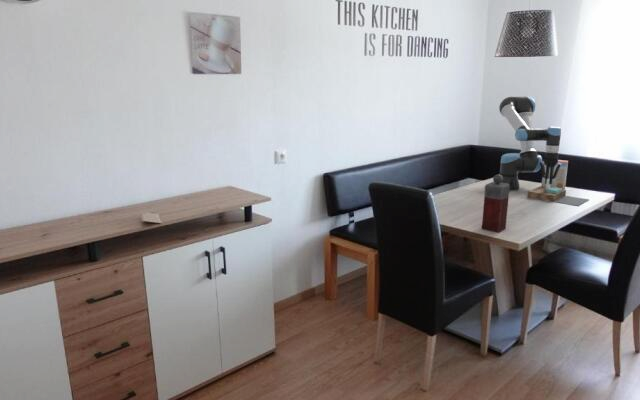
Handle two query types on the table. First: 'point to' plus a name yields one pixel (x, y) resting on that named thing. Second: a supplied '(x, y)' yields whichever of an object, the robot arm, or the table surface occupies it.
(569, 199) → the mat
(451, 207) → the table surface
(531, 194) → the deck
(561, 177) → the cracker box
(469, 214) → the table surface
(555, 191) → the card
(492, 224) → the red square decanter
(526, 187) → the table surface
